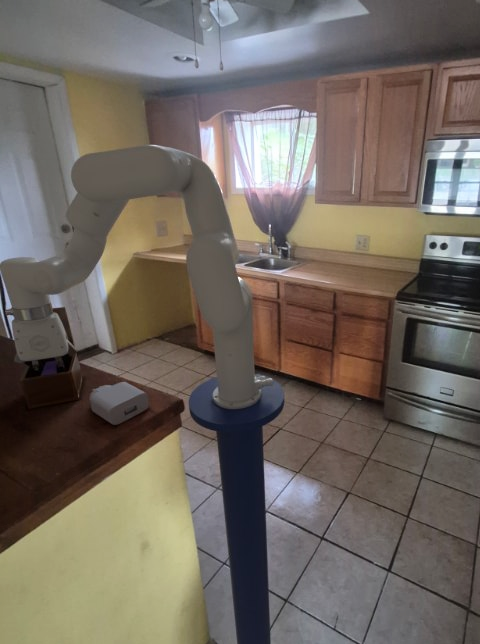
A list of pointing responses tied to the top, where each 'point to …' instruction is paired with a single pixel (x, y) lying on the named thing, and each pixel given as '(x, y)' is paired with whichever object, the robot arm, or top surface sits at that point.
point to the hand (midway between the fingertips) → (53, 379)
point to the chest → (52, 384)
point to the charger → (118, 402)
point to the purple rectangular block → (50, 368)
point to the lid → (65, 323)
